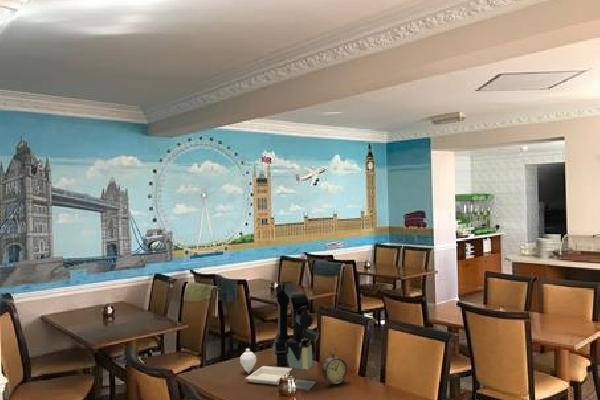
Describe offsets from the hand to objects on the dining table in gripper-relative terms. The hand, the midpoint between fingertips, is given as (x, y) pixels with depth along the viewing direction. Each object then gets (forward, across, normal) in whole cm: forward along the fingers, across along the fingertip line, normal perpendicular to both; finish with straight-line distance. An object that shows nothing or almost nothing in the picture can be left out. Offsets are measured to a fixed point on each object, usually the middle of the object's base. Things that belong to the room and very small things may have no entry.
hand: (300, 358), depth 217 cm
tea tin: (+3, 0, 0) cm, 3 cm away
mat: (+12, 0, 0) cm, 12 cm away
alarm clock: (+12, +5, -14) cm, 19 cm away
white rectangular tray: (+12, +3, +17) cm, 21 cm away
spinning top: (+12, +7, +29) cm, 33 cm away
